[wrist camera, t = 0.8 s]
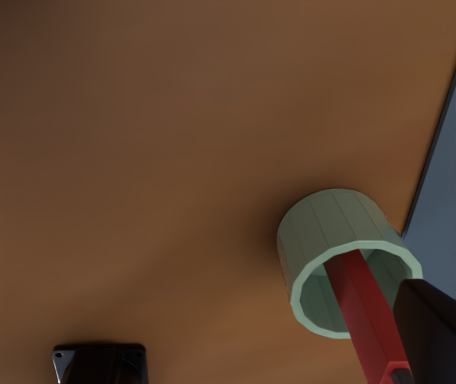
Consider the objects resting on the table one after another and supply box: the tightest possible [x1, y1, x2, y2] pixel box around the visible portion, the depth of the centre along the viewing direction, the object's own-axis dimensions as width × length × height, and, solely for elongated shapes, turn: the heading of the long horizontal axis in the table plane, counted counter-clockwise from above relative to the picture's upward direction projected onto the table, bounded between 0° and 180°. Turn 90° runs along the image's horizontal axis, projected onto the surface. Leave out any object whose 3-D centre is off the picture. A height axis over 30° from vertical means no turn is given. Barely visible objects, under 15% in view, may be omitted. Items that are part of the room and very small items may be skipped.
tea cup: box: [277, 188, 423, 339], centre depth 22 cm, size 7×7×5 cm
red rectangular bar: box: [323, 249, 415, 384], centre depth 19 cm, size 2×1×10 cm, turn 177°
